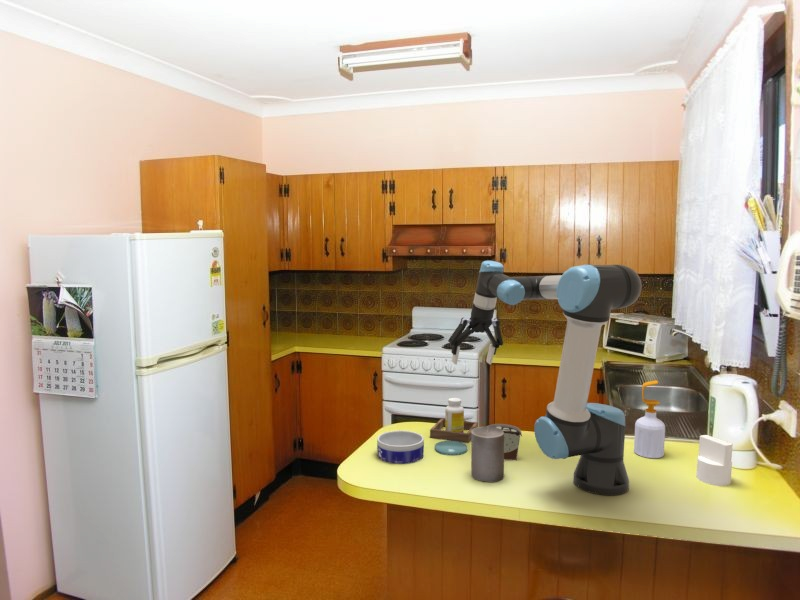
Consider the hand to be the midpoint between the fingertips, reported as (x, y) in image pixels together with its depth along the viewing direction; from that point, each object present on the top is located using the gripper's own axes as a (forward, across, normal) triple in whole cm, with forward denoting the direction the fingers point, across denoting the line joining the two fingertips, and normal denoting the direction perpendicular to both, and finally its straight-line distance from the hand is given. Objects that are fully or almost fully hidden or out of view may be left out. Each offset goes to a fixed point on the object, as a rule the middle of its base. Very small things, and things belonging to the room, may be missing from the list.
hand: (471, 362), depth 202 cm
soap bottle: (+15, -50, +38) cm, 65 cm away
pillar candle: (+20, +8, +37) cm, 43 cm away
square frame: (+28, +2, +1) cm, 28 cm away
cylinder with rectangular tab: (+9, -53, +60) cm, 81 cm away
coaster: (+25, +9, +14) cm, 30 cm away
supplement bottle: (+28, +2, +1) cm, 28 cm away
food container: (+22, -4, +25) cm, 33 cm away
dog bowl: (+27, +27, +14) cm, 41 cm away
